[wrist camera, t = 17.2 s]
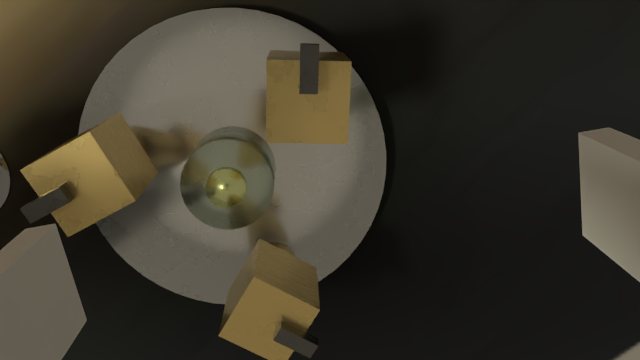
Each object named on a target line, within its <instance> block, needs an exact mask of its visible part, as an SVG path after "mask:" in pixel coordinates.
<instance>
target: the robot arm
mask: <svg viewBox="0 0 640 360" xmlns="http://www.w3.org/2000/svg"><path fill="white" fill-rule="evenodd" d="M578 136H579V161H580V186H581V211H582V235H583V236H584V237H585V238H587V239H588V240H589V241H590V242H591V243H593V244H594V245H595V246H596V247H598V248H599V249H600V250H601V251H602V252H604V253H605V254H606V255H607V256H609V257H610V258H611V259H612V260H613V261H615V262H616V263H617V264H618V265H619V266H621V267H622V268H623V269H624V270H626V271H627V272H628V273H629V274H630V275H632V276H633V277H634V278H635V279H637V280H638V281H639V282H640V140H638V139H636V138H634V137H631V136H629V135H626V134H624V133H621V132H619V131H616V130H614V129H612V128H603V129H598V130H592V131H586V132H580V133H578ZM86 321H87V319H86V316H85V313H84V310H83V307H82V304H81V301H80V298H79V295H78V291H77V288H76V285H75V282H74V279H73V276H72V273H71V270H70V267H69V263H68V260H67V257H66V254H65V251H64V248H63V245H62V242H61V239H60V236H59V232H58V229H57V226H56V224H50V225H44V226H39V227H33V228H27V229H25V230H23V231H22V232H21V233H20V234H19V235H18V236H16V237H15V238H14V239H13V240H12V241H11V242H9V243H8V244H7V245H6V246H5V247H4V248H2V249H1V250H0V360H62V358H63V357H64V355H65V353H66V352H67V350H68V349H69V347H70V346H71V344H72V343H73V341H74V339H75V338H76V336H77V335H78V333H79V332H80V330H81V329H82V327H83V326H84V324H85V322H86Z"/></svg>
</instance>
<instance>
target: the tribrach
mask: <svg viewBox="0 0 640 360" xmlns="http://www.w3.org/2000/svg"><path fill="white" fill-rule="evenodd" d="M300 43H313V44H319V51H322V52H338V51H337V50H336V49H335V48H334V47H333V46H332V45H330V44H329V43H328V42H326V41H325V40H324V39H322V38H321V37H320V36H319V35H317V34H316V33H314V32H312V31H311V30H309V29H307V28H305V27H304V26H302V25H300V24H298V23H296V22H293V21H291V20H289V19H286V18H284V17H281V16H279V15H275V14H271V13H267V12H263V11H260V10H253V9H245V8H212V9H205V10H198V11H192V12H189V13H185V14H182V15H179V16H175V17H172V18H170V19H167V20H165V21H163V22H161V23H159V24H156V25H154V26H152V27H150V28H149V29H147V30H146V31H144V32H143V33H141V34H140V35H138V36H136V37H135V38H134V39H132V40H131V41H130V42H129V43H128V44H127V45H125V46H124V47H123V48H122V49H121V50H120V51H119V52H118V53H117V54H116V55H115V56H114V57H113V58H112V60H111V61H110V62H109V63H108V64H107V65H106V67H105V68H104V69H103V71H102V73H101V74H100V76H99V77H98V79H97V80H96V82H95V83H94V85H93V88H92V90H91V92H90V94H89V96H88V99H87V101H86V103H85V107H84V110H83V113H82V117H81V120H80V126H79V133H78V135H79V134H81V133H83V132H84V131H86V130H88V129H90V128H92V127H93V126H95V125H97V124H99V123H100V122H102V121H104V120H106V119H108V118H109V117H111V116H113V115H115V114H117V113H118V112H120V113H121V115H122V116H123V118H124V119H125V121H126V122H127V124H128V126H129V127H131V128H133V129H135V130H136V131H137V132H138V133H139V134H140V135H141V137H142V138H143V140H144V142H145V145H146V153H147V155H148V156H149V158H150V160H151V161H152V163H153V164H154V166H155V167H156V169H157V170H158V173H157V174H156V175H155V177H154V178H153V179H152V181H151V182H150V183H149V184H148V186H147V187H146V188H145V190H144V191H143V192H142V193H141V195H140V196H139V197H138V198H137V200H136V201H134V202H133V203H131V204H129V205H127V206H125V207H123V208H121V209H120V210H118V211H116V212H114V213H112V214H110V215H108V216H107V217H105V218H103V219H101V220H99V221H97V222H96V224H97V226H98V227H99V229H100V231H101V233H102V234H103V236H104V237H105V238H106V239H107V241H108V242H109V243H110V245H111V246H112V247H113V249H114V250H115V251H116V252H117V253H118V254H119V255H120V256H121V257H122V258H123V259H124V260H125V261H126V262H127V263H128V264H129V265H131V266H132V267H133V268H134V269H136V270H137V271H138V272H139V273H141V274H142V275H143V276H145V277H146V278H148V279H150V280H151V281H153V282H155V283H156V284H158V285H159V286H162V287H164V288H166V289H168V290H170V291H172V292H175V293H177V294H180V295H183V296H186V297H189V298H192V299H195V300H200V301H205V302H210V303H216V304H226V299H227V295H228V290H229V289H230V287H231V285H232V284H233V282H234V280H235V279H236V277H237V275H238V274H239V272H240V270H241V269H242V267H243V265H244V264H245V262H246V260H247V258H248V257H249V255H250V253H251V252H252V250H253V248H254V247H255V245H256V243H257V242H258V240H259V238H260V239H262V240H264V241H266V242H268V243H269V242H278V243H282V244H284V245H286V246H288V247H289V248H290V249H291V250H292V251H293V252H294V253H295V255H296V257H297V258H299V259H300V260H302V261H304V262H306V263H308V264H310V265H312V266H314V267H316V268H317V279H318V282H319V281H321V280H322V279H323V278H325V277H326V276H327V275H329V274H330V273H332V272H333V271H334V270H336V269H337V268H338V267H339V266H340V265H341V264H342V263H343V262H344V261H345V260H346V259H347V258H348V257H349V256H350V255H351V254H352V252H353V251H354V250H355V249H356V247H357V246H358V245H359V244H360V243H361V241H362V239H363V238H364V236H365V234H366V233H367V231H368V230H369V228H370V226H371V224H372V222H373V219H374V217H375V215H376V213H377V210H378V207H379V204H380V201H381V197H382V194H383V189H384V183H385V176H386V147H385V138H384V132H383V128H382V125H381V121H380V117H379V114H378V111H377V109H376V106H375V104H374V101H373V99H372V97H371V95H370V93H369V91H368V90H367V88H366V86H365V84H364V83H363V81H362V79H361V78H360V77H359V75H358V74H357V73H356V71H355V70H354V69H353V67H352V66H351V85H350V107H349V129H348V144H308V143H266V59H267V57H268V55H269V52H270V50H285V51H300Z"/></svg>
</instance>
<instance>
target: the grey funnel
mask: <svg viewBox="0 0 640 360" xmlns="http://www.w3.org/2000/svg"><path fill="white" fill-rule="evenodd" d="M10 187H11V177H10V171H9V168H8V165H7V162H6V160H5V159H4V157H3V155H2V154H1V152H0V208H1V207H2V206H3V204H4V203H5V202H6V199H7V197H8V195H9V191H10Z"/></svg>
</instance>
